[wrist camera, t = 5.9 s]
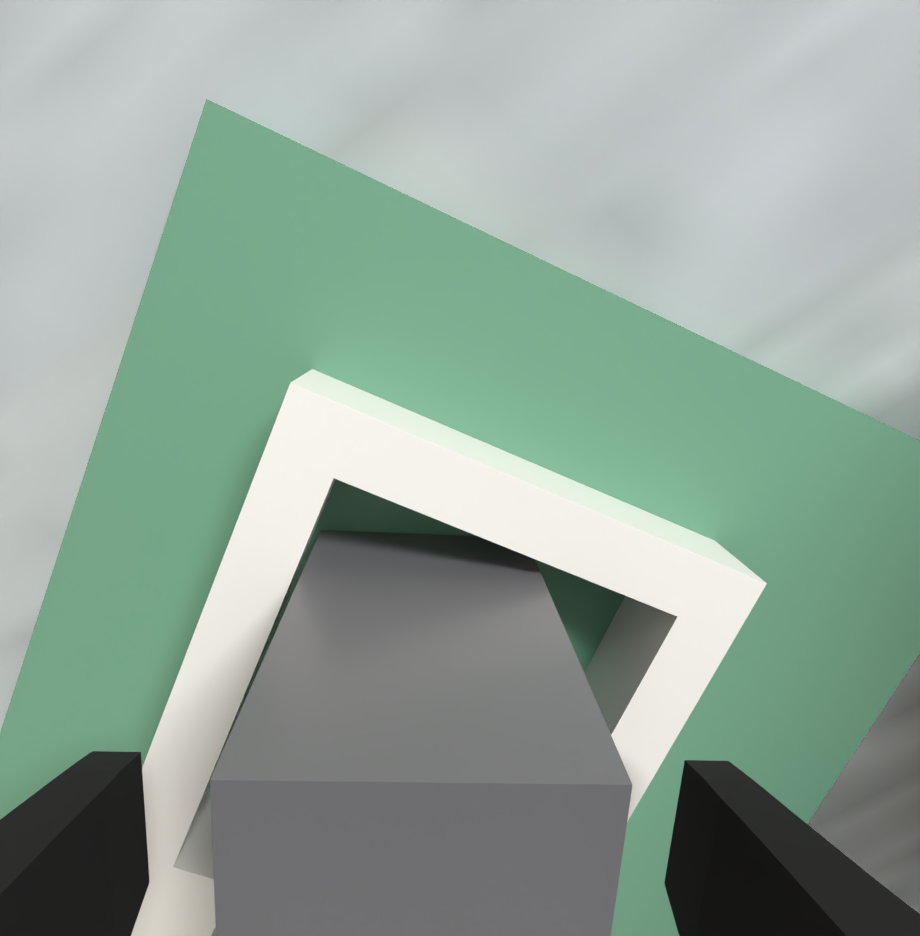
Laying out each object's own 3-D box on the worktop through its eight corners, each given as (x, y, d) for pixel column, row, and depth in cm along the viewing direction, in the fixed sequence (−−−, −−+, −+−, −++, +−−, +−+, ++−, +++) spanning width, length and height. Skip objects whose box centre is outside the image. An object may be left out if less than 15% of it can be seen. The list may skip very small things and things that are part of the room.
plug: (525, 538, 11) (632, 784, 6) (501, 819, 13) (565, 1250, 7) (321, 530, 11) (209, 779, 5) (318, 817, 13) (229, 1261, 7)
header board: (988, 480, 12) (1131, 524, 10) (626, 1044, 16) (665, 1188, 13) (223, 114, 10) (157, 53, 8) (-24, 857, 13) (-129, 988, 11)
